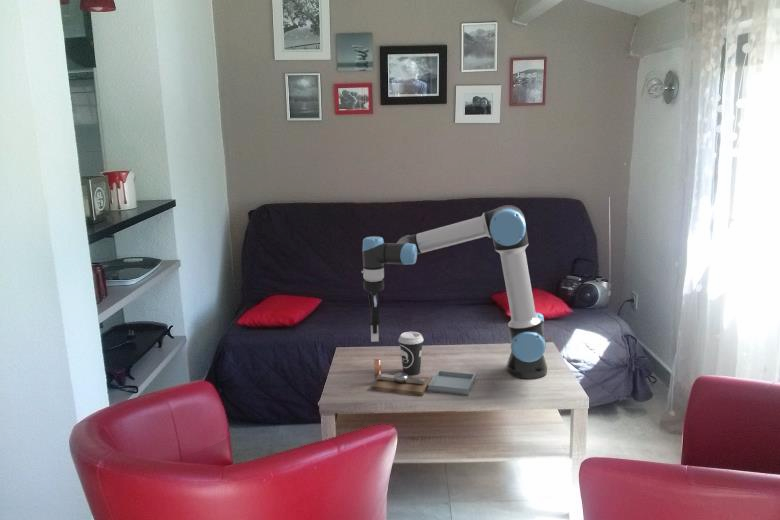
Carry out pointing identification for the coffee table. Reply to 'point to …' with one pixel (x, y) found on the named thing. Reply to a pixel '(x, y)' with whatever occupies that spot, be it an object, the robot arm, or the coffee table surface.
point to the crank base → (401, 386)
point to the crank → (397, 377)
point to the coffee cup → (411, 352)
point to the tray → (452, 382)
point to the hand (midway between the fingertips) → (374, 340)
